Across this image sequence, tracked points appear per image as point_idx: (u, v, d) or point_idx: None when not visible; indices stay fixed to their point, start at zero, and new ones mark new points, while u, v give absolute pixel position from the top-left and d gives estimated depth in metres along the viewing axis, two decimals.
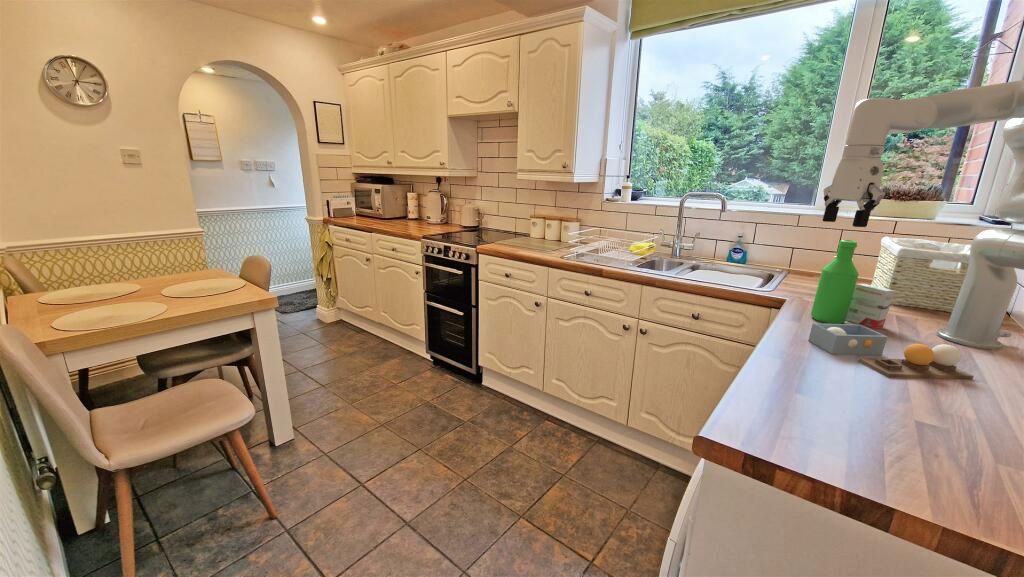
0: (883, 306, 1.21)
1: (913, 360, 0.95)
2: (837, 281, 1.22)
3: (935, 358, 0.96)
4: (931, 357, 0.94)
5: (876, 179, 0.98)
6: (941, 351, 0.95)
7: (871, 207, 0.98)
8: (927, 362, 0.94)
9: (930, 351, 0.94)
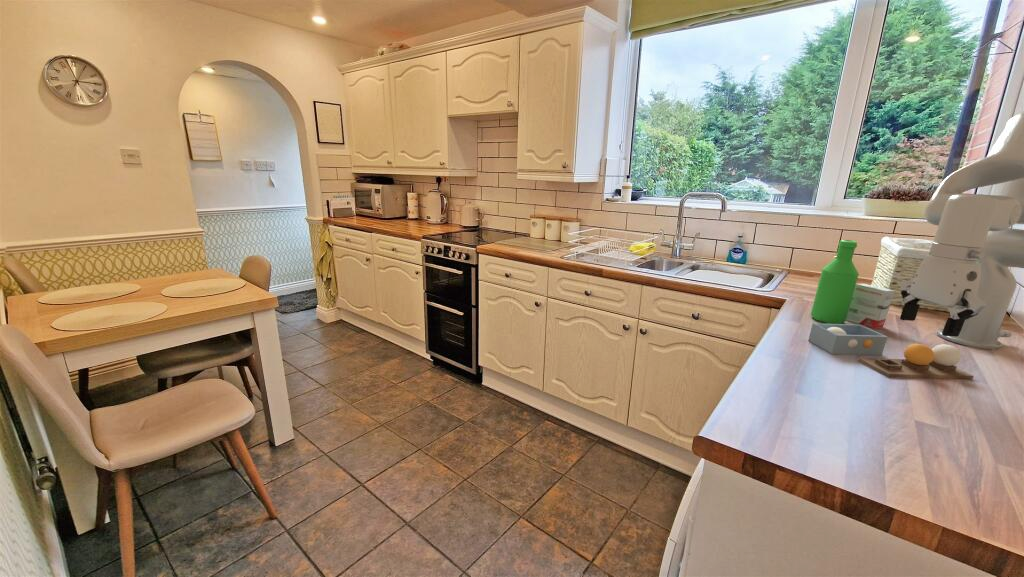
0: (883, 306, 1.21)
1: (913, 360, 0.95)
2: (837, 281, 1.22)
3: (935, 358, 0.96)
4: (931, 357, 0.94)
5: (973, 285, 0.86)
6: (941, 351, 0.95)
7: (967, 317, 0.86)
8: (927, 362, 0.94)
9: (930, 351, 0.94)
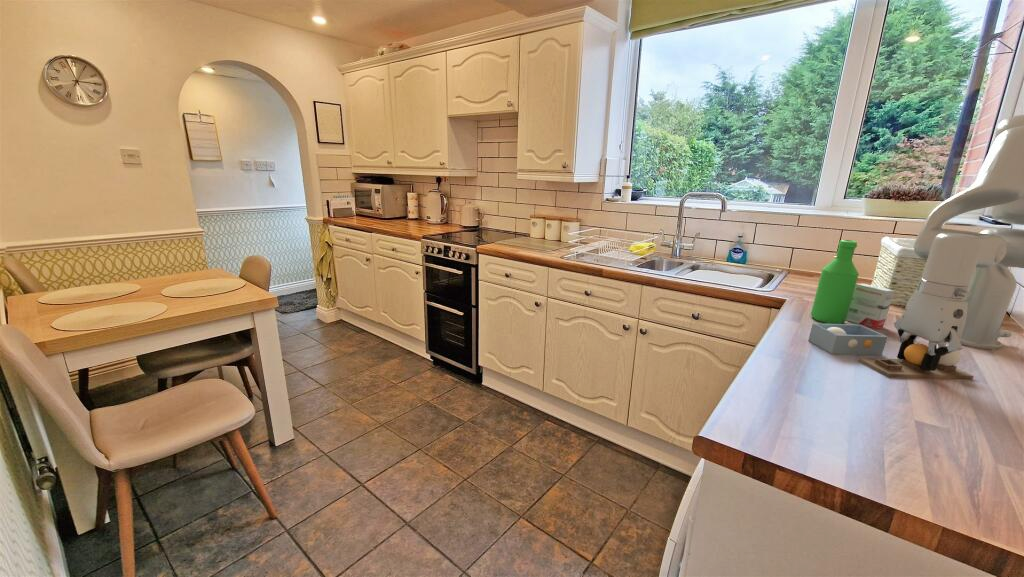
0: (883, 306, 1.21)
1: (913, 360, 0.95)
2: (837, 281, 1.22)
3: None
4: None
5: (959, 322, 0.89)
6: None
7: (942, 353, 0.91)
8: None
9: None
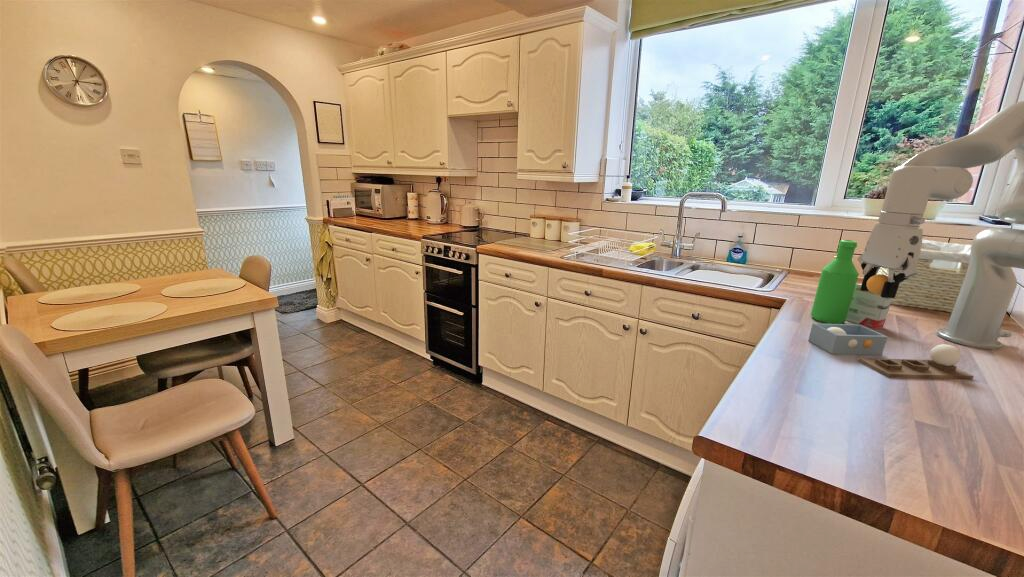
0: (884, 306, 1.21)
1: (875, 289, 1.01)
2: (837, 281, 1.22)
3: (935, 358, 0.96)
4: None
5: (915, 248, 0.94)
6: (941, 351, 0.95)
7: (901, 280, 0.97)
8: None
9: None
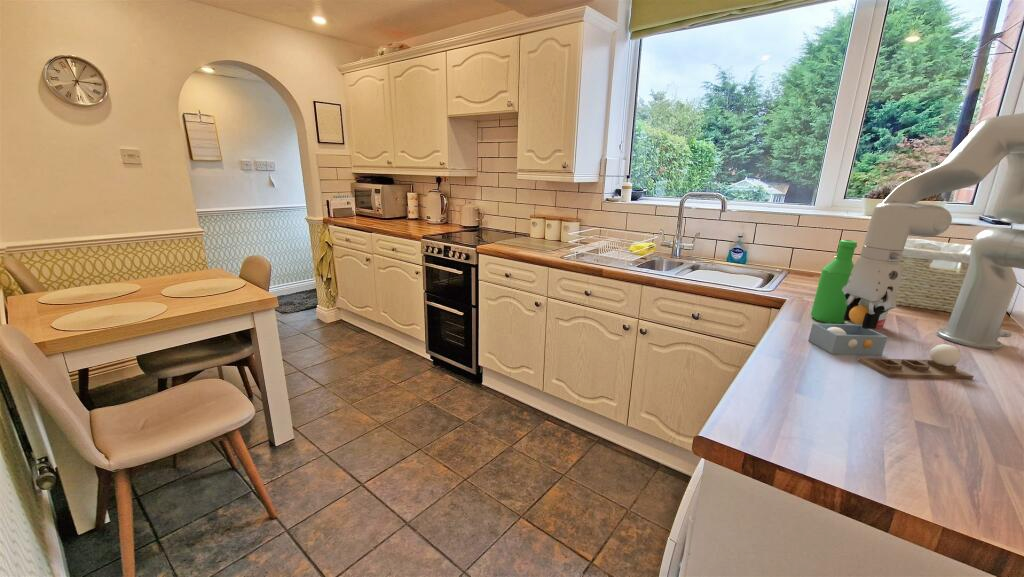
0: None
1: (856, 320, 1.05)
2: (837, 281, 1.22)
3: (935, 358, 0.96)
4: None
5: (894, 283, 0.98)
6: (941, 351, 0.95)
7: (880, 312, 1.01)
8: None
9: None
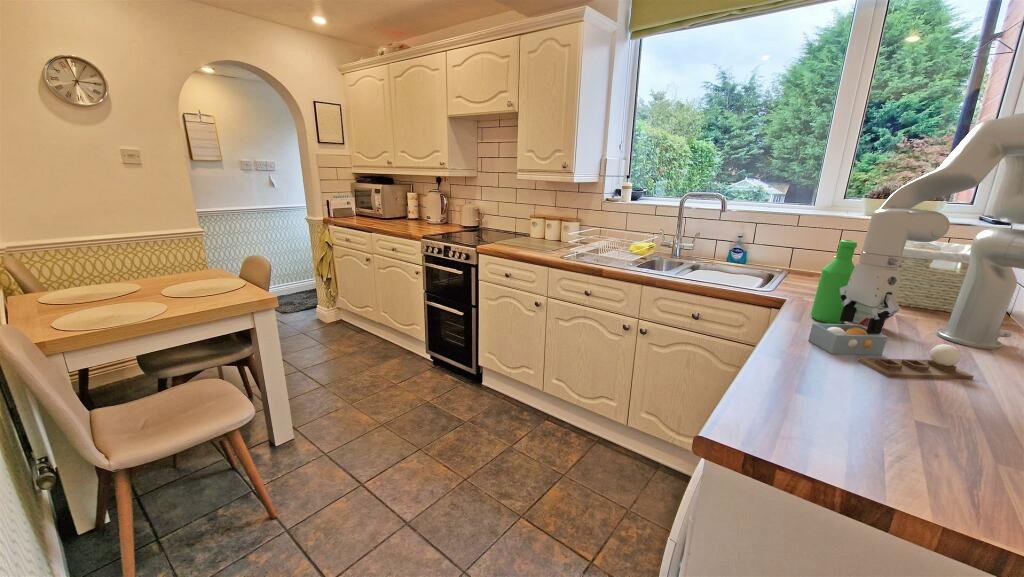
0: None
1: None
2: (837, 281, 1.22)
3: (935, 358, 0.96)
4: None
5: (893, 288, 0.99)
6: (941, 351, 0.95)
7: (885, 317, 1.00)
8: None
9: (865, 334, 1.05)
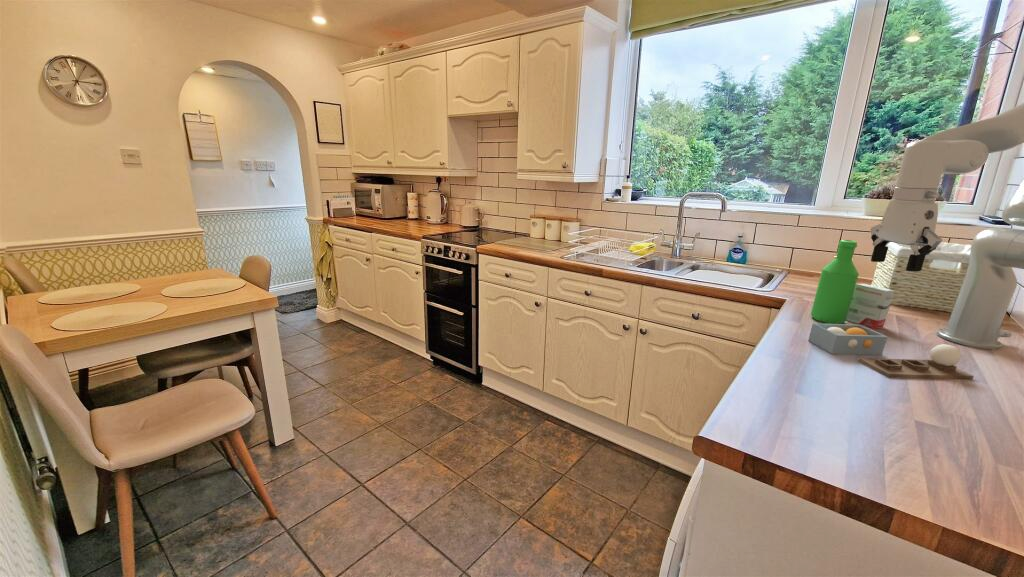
0: (883, 306, 1.21)
1: None
2: (837, 281, 1.22)
3: (935, 358, 0.96)
4: None
5: (931, 223, 0.95)
6: (941, 351, 0.95)
7: (926, 252, 0.95)
8: None
9: (864, 333, 1.06)
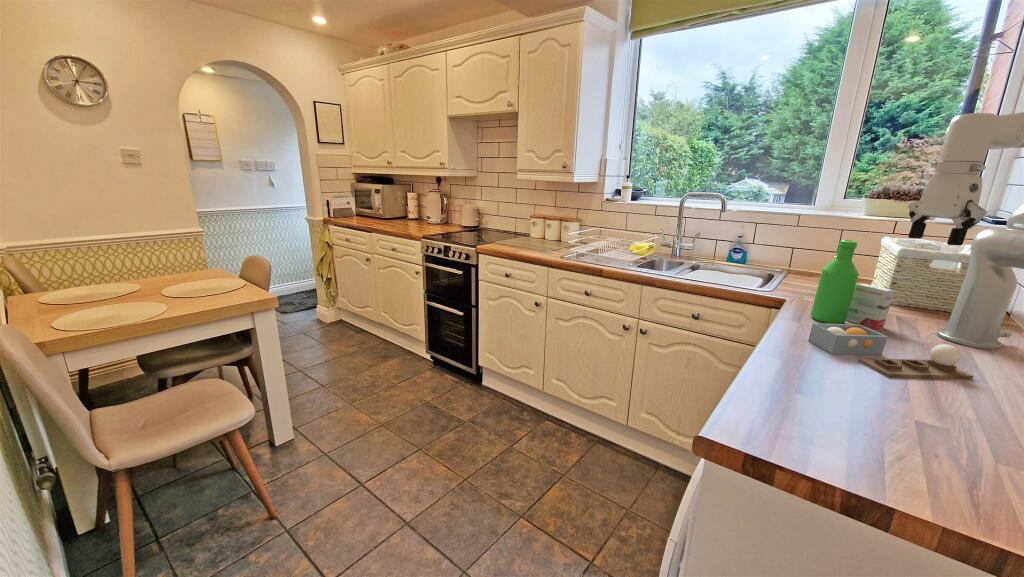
0: (883, 306, 1.21)
1: None
2: (837, 281, 1.22)
3: (935, 358, 0.96)
4: None
5: (975, 196, 0.95)
6: (941, 351, 0.95)
7: (970, 225, 0.95)
8: None
9: (864, 333, 1.06)
